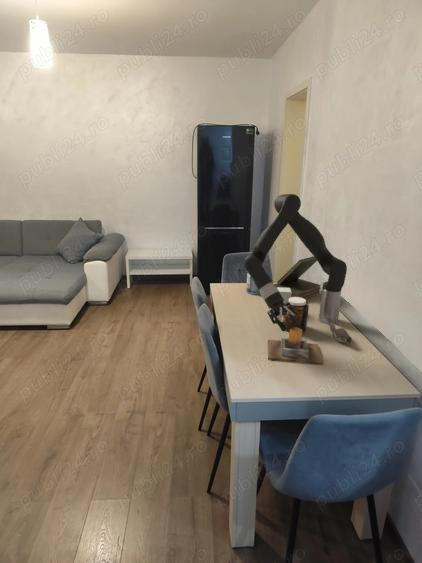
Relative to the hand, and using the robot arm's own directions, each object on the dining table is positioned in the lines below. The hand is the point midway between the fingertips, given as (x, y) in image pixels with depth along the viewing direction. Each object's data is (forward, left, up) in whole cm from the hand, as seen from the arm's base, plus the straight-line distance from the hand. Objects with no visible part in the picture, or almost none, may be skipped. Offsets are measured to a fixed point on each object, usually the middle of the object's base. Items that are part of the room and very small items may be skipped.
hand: (290, 327), depth 156 cm
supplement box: (+1, -44, -11) cm, 46 cm away
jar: (-4, -23, -11) cm, 26 cm away
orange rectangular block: (-2, +2, -10) cm, 10 cm away
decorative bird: (-23, -18, -11) cm, 31 cm away
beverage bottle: (+18, -71, -11) cm, 74 cm away
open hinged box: (-9, -75, -11) cm, 76 cm away
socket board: (-2, +2, -11) cm, 11 cm away
